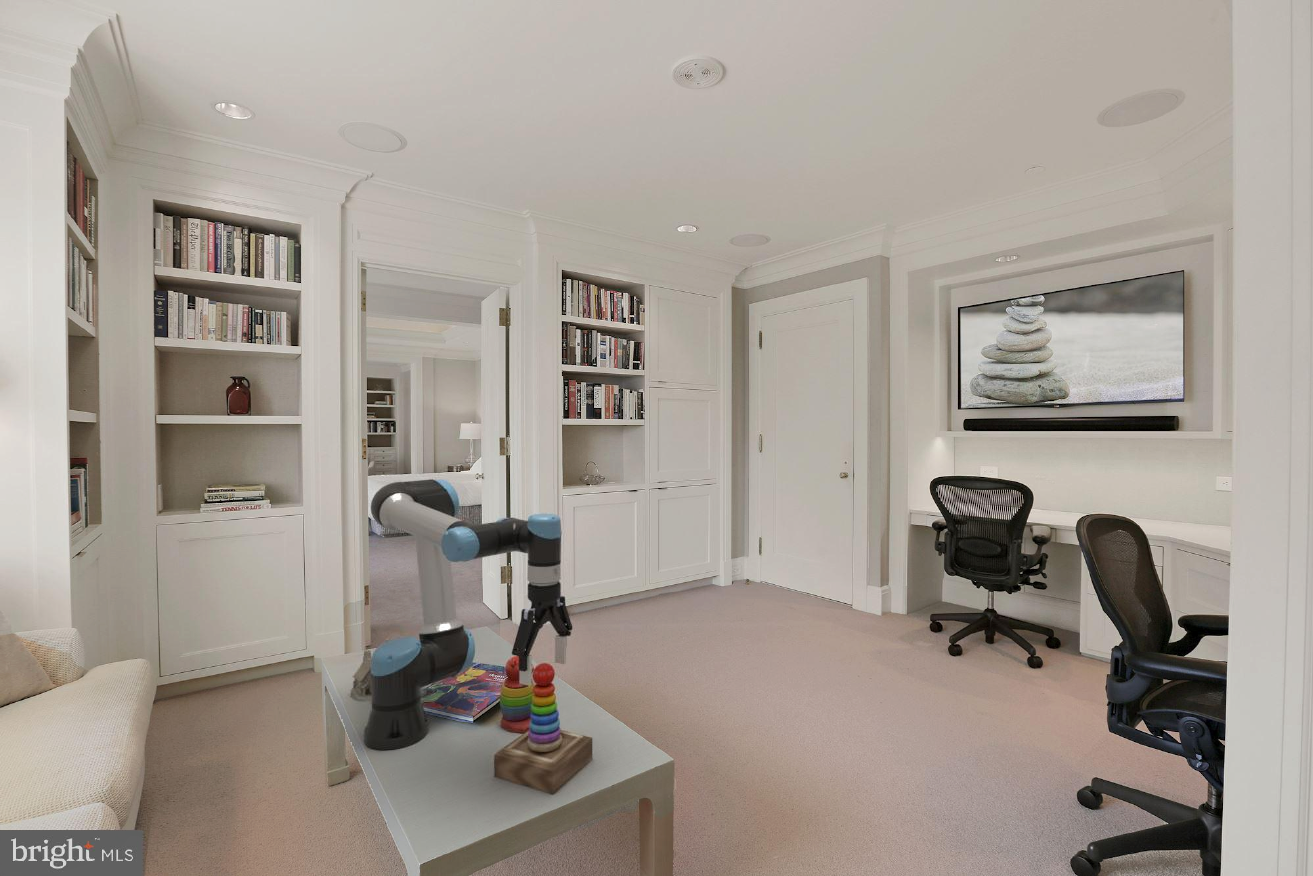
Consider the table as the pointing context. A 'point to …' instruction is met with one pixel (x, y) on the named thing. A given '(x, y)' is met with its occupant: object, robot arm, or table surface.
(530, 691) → the stacking bear
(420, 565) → the robot arm
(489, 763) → the table surface
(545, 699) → the stacking toy
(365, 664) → the ceramic cottage
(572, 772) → the plinth
